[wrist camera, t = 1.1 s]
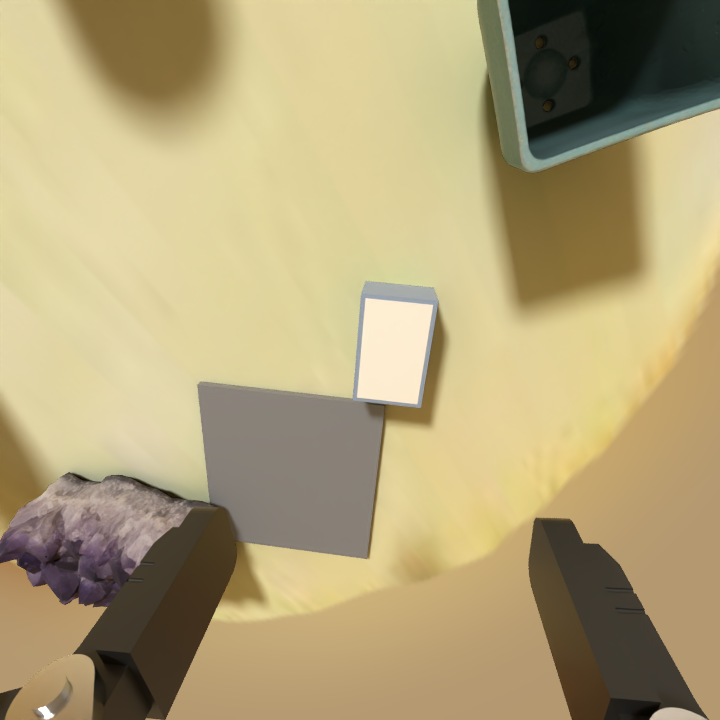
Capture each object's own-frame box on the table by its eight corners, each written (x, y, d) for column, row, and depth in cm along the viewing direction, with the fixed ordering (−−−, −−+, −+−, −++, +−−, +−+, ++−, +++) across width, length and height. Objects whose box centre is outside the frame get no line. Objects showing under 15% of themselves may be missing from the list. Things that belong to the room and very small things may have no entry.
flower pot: (631, 130, 23) (757, 96, 15) (483, 182, 25) (524, 177, 17) (618, -53, 20) (768, -220, 12) (451, 22, 22) (483, -79, 14)
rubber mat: (216, 533, 40) (213, 538, 40) (200, 381, 33) (197, 384, 33) (367, 553, 40) (366, 558, 39) (385, 402, 32) (385, 406, 32)
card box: (357, 376, 32) (352, 400, 28) (366, 280, 29) (361, 293, 25) (418, 383, 32) (420, 408, 28) (433, 286, 28) (438, 301, 25)
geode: (64, 534, 43) (-37, 614, 33) (65, 444, 40) (-47, 504, 30) (236, 588, 41) (182, 687, 32) (251, 499, 38) (196, 581, 29)
